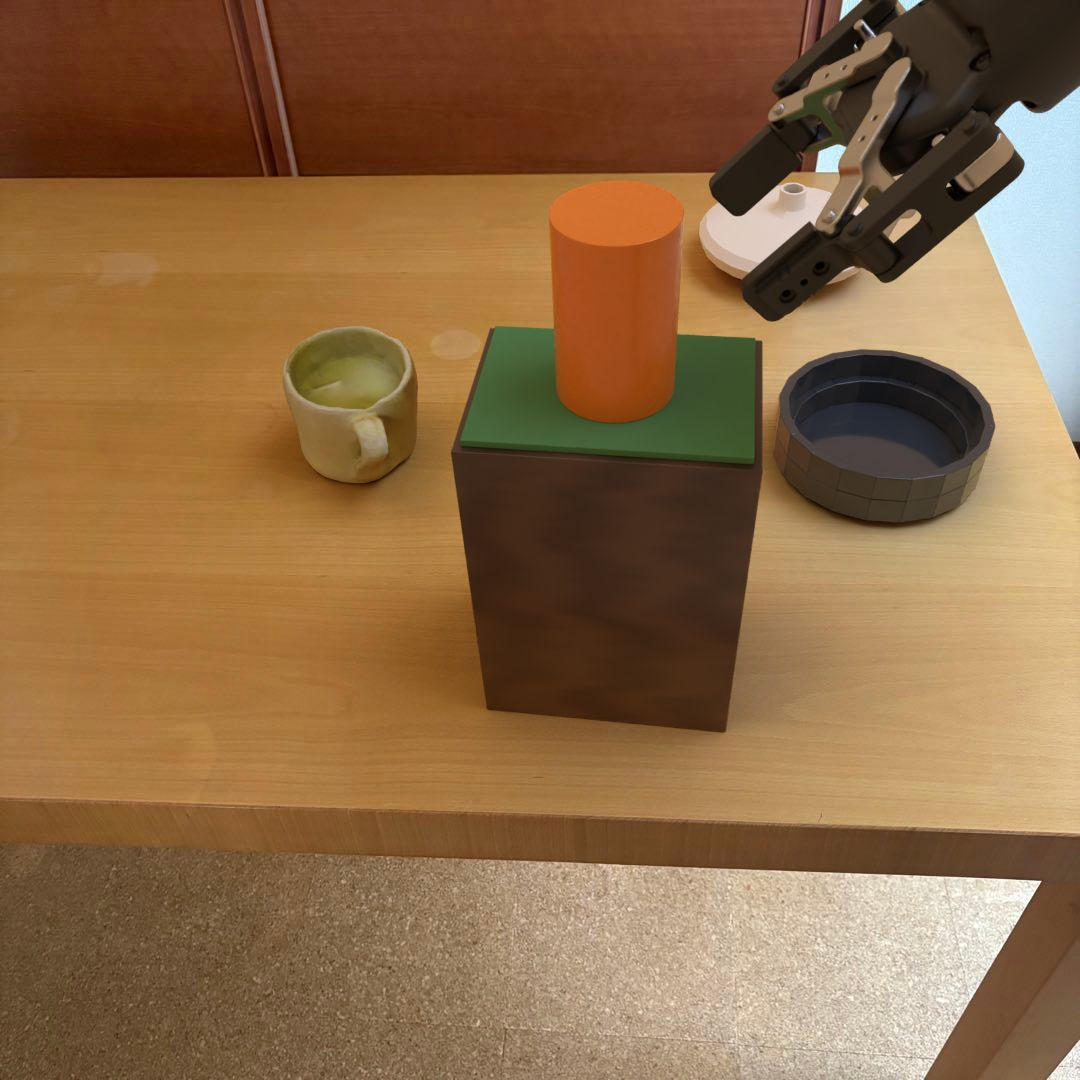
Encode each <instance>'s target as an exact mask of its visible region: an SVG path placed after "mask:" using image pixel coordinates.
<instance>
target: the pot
mask: <svg viewBox="0 0 1080 1080" xmlns="http://www.w3.org/2000/svg"><path fill="white" fill-rule="evenodd" d="M778 395H779V396H778V402H777V407H776V408H777V409H776V416H775V422H774V429H773V436H772V439H773V440H772V443H773V445H772V447H773V449H772V451H773V458H774V459H775V461H776V464H777V466H778V467H779V469H780V471H781V473H782V476H783V477H784V479H786V480H787V481H788V482H789V483H790V484H791V485H792V486H793V487H794V488H795V489H796V490H797V491H798V492H799V493H800V494H801V495H803V496H804V498H805V497H806V498H808V499H809V500H811V501H813V502H815V503H816V504H819V505H820V506H822V507H824V508H826V509H828V510H830V511H831V512H834V513H839V514H842V515H845V516H849V517H852V518H856V519H860V520H864V521H872V522H890V523H905V522H912V521H913V522H914V521H919V520H925V519H931V518H935V517H937V516H939V515H942V514H944V513H946V512H948V511H951V510H952V509H955V508H957V507H958V506H960V505H961V504H962V503H963V502H964V501H965V500H966V499H967V498H968V497H969V496H970V495H971V494H972V493H973V492H974V491H975V490H976V488H977V485H978V483H979V480H980V477H981V473H982V470H983V468H984V464H985V461H986V458H987V457H988V453H989V450H990V447H991V443H992V440H993V437H994V433H995V430H996V423H995V422H996V421H995V418H994V414H993V410H992V406H991V404H990V403H989V401H988V400H987V399H986V398H985V396H984V395H983V394H982V392H981V391H980V390H979V389H978V387H977V386H976V385H975V384H973V383H972V382H971V381H969V380H968V379H966V378H965V377H964V376H962V375H960V374H959V373H958V372H956V371H955V370H953V369H951V368H949V367H948V366H945V365H942V364H940V363H938V362H935V361H933V360H931V359H928V358H926V357H923V356H920V355H915V354H911V353H906V352H902V351H901V352H900V351H897V350H891V349H890V350H889V349H870V348H869V349H868V348H859V349H858V348H857V349H851V350H845V351H838V352H837V351H836V352H831V353H829V354H826V355H823V356H821V357H818V358H815V359H812V360H809V361H807V362H806V363H805V364H803V365H802V366H801V367H799V368H798V369H797V370H796V371H794V372H793V373H792V374H790V375H789V376H788V377H787V380H786V381H785V383H784V385H783V387H782V389H781V391H780V393H779V394H778Z"/></svg>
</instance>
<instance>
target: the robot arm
mask: <svg viewBox="0 0 1080 1080" xmlns="http://www.w3.org/2000/svg"><path fill="white" fill-rule="evenodd" d="M823 66H824V67H823ZM809 79H810V80H809ZM807 80H809V83H808V85H807V83H806V81H807ZM1078 88H1080V0H921V1H919V2H918V3H916V4H915V5H914V6H912V7H911V8H909V9H908V10H907V9H906V8H905V7H904V6H903V4H902V3H901V2H900V1H899V0H861V1H860V2H859V3H857V4H856V5H855V6H854V7H853V8H852V9H851V10H850V11H848V13H846V14H845V15H844V16H843V17H842V18H841V19H840V20H839V21H838V22H836V23H835V24H834V25H833V26H832V27H831V28H830V29H829V30H828V31H827V32H826V33H825V34H824V35H823V36H821V37H820V38H819V39H818V40H817V41H816V42H815V43H814V44H813V45H812V46H811V47H810V48H808V49H807V50H806V51H805V52H804V53H803V54H802V55H800V57H799V58H798V59H796V60H795V61H794V62H793V63H792V64H791V65H790V66H789V67H788V68H787V69H785V71H783V72H782V73H781V74H780V75H779V76H778V77H777V79H776V80H775V81H774V82H773V85H772V86H771V92H772V93H773V94H774V95H775V96H776V98H777V102H776V103H775V104H774V105H773V106H772V108H771V109H770V111H769V112H768V115H767V120H768V121H769V123H766V125H765V126H764V127H763V128H762V129H761V130H760V131H758V132H757V133H756V134H755V135H754V136H753V137H752V138H751V139H750V140H749V141H748V142H747V143H745V145H743V146H742V147H741V148H740V149H739V150H738V151H737V152H736V153H735V154H734V155H733V156H732V157H731V158H730V159H729V160H728V161H726V162H725V164H724V165H723V166H721V167H720V168H719V169H718V170H717V171H716V172H714V174H713V175H711V177H710V179H709V180H708V188H709V191H710V195H711V196H712V198H713V199H714V200H715V201H716V202H717V203H718V202H719V203H720V204H721V205H722V206H723V207H724V208H725V209H726V210H727V211H728V212H729V213H730V214H732V215H733V216H742V215H744V214H746V213H747V212H748V211H749V210H750V209H751V208H753V207H754V206H755V205H756V204H757V203H758V202H759V201H760V200H761V199H763V198H764V197H765V196H766V195H767V194H768V193H769V192H770V191H771V190H773V189H774V188H775V187H776V186H777V185H780V184H781V183H782V182H783V181H784V180H785V179H786V178H787V177H788V176H790V174H792V173H793V172H794V171H795V170H796V169H797V168H798V167H800V166H801V165H802V164H803V161H802V159H801V157H800V155H799V153H800V154H801V156H803V157H808V156H811V155H813V154H816V153H819V152H821V151H823V150H826V149H829V148H832V147H834V146H837V145H838V146H842V147H845V149H844V151H843V153H842V155H841V156H840V158H839V160H838V164H837V171H838V174H839V180H838V183H837V184H836V186H835V187H834V189H833V191H832V192H831V193H832V195H831V196H830V198H829V200H828V201H827V203H826V205H825V206H824V208H823V209H822V211H821V213H820V214H819V216H818V218H817V220H816V223H815V226H814V225H813V224H812V223H811V222H810V221H809V222H808V223H807V224H805V225H804V226H803V227H802V228H801V229H800V230H798V231H797V232H796V233H795V234H794V235H793V236H791V237H790V238H789V239H788V240H787V241H786V242H784V243H783V244H782V245H781V246H780V247H779V248H777V249H776V250H775V251H774V252H773V253H772V254H770V255H769V256H768V257H767V258H766V259H765V260H763V261H762V262H761V263H760V264H759V265H758V266H756V267H755V268H754V269H753V270H752V271H751V272H749V273H748V274H747V275H746V276H745V277H744V278H743V279H740V281H739V290H740V293H741V297H742V300H743V301H744V302H745V303H746V304H747V305H748V306H749V307H750V308H751V309H753V310H754V311H755V312H756V313H757V314H758V315H759V316H760V317H762V318H763V319H764V320H765V321H767V322H771V323H774V322H778V321H780V320H782V319H783V318H784V317H786V316H788V315H789V314H791V313H793V312H795V310H797V309H798V308H799V307H800V306H802V305H803V303H806V301H807V300H809V299H810V298H811V297H812V296H814V295H815V294H816V293H818V292H819V291H820V290H821V289H822V288H824V287H825V286H826V284H827V283H829V282H830V281H831V280H832V279H833V278H835V277H836V276H837V275H838V274H840V273H841V272H842V271H844V270H845V269H847V268H849V267H853V266H854V267H855V268H858V269H859V268H862V269H863V270H865V271H867V272H869V273H871V274H873V276H875V278H876V279H877V280H878V281H879V282H880V283H882V284H888V283H889V284H890V283H892V282H894V281H896V280H897V279H898V278H899V277H901V276H902V275H904V273H906V272H907V271H908V270H909V269H910V268H911V267H913V266H914V265H915V264H917V263H918V262H919V261H920V260H922V258H923V257H925V256H926V255H927V254H928V253H929V252H931V251H932V250H933V249H934V248H936V247H937V246H938V245H939V244H940V243H941V242H943V241H944V240H945V239H946V238H947V237H949V236H950V235H951V234H953V233H954V231H956V230H957V229H958V228H959V227H961V226H962V225H963V224H964V223H965V222H966V221H968V220H969V219H970V218H971V217H972V216H974V215H975V214H976V213H977V212H978V211H980V210H981V209H982V208H984V206H986V205H987V204H988V203H989V202H990V201H992V200H993V199H994V198H995V197H996V196H998V195H999V194H1000V193H1001V192H1002V191H1003V190H1006V188H1007V187H1009V185H1011V184H1012V183H1013V182H1014V181H1016V180H1017V179H1018V178H1019V176H1020V175H1021V174H1022V173H1023V172H1024V169H1025V165H1026V163H1025V159H1024V158H1023V157H1022V156H1021V155H1020V153H1019V152H1018V151H1017V150H1016V148H1015V146H1014V144H1013V142H1011V140H1010V139H1009V138H1008V137H1007V135H1006V134H1005V133H1004V131H1003V130H1002V129H1001V128H1000V127H999V126H997V124H996V123H997V121H999V119H1000V118H1001V117H1002V116H1003V115H1004V114H1005V113H1006V112H1007V111H1008V110H1009V109H1010V107H1012V105H1014V104H1016V103H1018V102H1019V103H1020V104H1021V105H1022V106H1023V107H1024V108H1025V109H1026V110H1027V111H1029V112H1030V113H1034V114H1044V113H1047V112H1049V111H1051V110H1053V108H1054V107H1056V106H1057V105H1058V104H1060V103H1061V102H1062V101H1063V100H1065V99H1066V98H1067V97H1069V95H1071V94H1072V93H1074V91H1076V90H1077V89H1078ZM820 122H821V123H820ZM898 176H899V177H898ZM895 177H898V178H895ZM948 184H949V185H950V186H948ZM862 200H864V201H865V202H866V203H867V204H868V205H867V206H866V207H863V208H862V209H863V210H862V211H861V212H860V213H859V214H858V215H857V216H856V215H854V214H853V213H854V212H855V210H856V208H857V207H858V206H859V205H860V203H861V202H862ZM916 213H918V214H919V215H920V219H919V221H917V223H915V224H914V225H913V226H912V227H910V229H908V230H907V231H906V232H905V233H903V234H902V235H901V236H900V237H899V238H898V239H897V240H895V241H894V242H893V241H892V239H890V236H891V234H892V233H893V231H894V229H895V228H896V226H897V225H898V223H899V221H900V220H903V219H904V220H905V219H911V218H912V217H914V216H915V214H916ZM827 285H828V284H827Z"/></svg>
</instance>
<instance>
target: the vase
mask: <svg viewBox="0 0 1080 1080" xmlns="http://www.w3.org/2000/svg"><path fill="white" fill-rule="evenodd" d="M832 193H833V192H831V191H827V190H824V189H821V188H817V187H811V186H806V185H804V184H802V183H799V182H786V183H784V184H778V185H777V186H776V187H775V188H774V189H773V190H771V191H770V192H769V193H768V194H767V195H766V196H765V197H764V198H763V199H761V200H760V201H759V202H758V203H757V204H756V205H755V206H754V207H753V208H751V209H750V210H749V211H748V212H747V213H746V214H744V215H742V216H733V215H732V214H730V213H729V212H728V211H727V210H726V209H725V208H724V207H723V206H722V205H721V204H720V203H719V202H718V201H717V203H715V204H714V205H713V206H712V207H710V209H708V210H707V212H706V213H705V214H704V215H703V217H702V219H701V220H700V223H699V229H698V236H699V237H698V238H699V241H700V244H701V247H702V248H703V251H704V253H705V255H706V258H708V260H709V261H711V263H713V264H714V265H715V267H717V268H718V269H719V270H721V271H723V272H725V273H727V274H728V275H730V276H732V277H734V278H735V279H736V278H737V279H740V280H742V279H743V278H744V277H745V276H746V275H747V274H748V273H749V272H751V271H752V270H753V269H754V268H755V267H756V266H758V265H759V264H760V263H761V262H762V261H763V260H765V259H766V258H767V257H768V256H769V255H770V254H772V253H773V252H774V251H775V250H776V249H777V248H779V247H780V246H781V245H782V244H783V243H784V242H786V241H787V240H788V239H789V238H790V237H791V236H793V235H794V234H795V233H796V232H797V231H798V230H800V229H801V228H802V227H803V226H804V225H805V224H807V223H808V222H809V221H810V222H811V223H812V224H813V225H814V226H815V223H816V220H817V218H818V216H819V214H820V213H821V211H822V209H823V208H824V206H825V205H826V203H827V201H828V200H829V198H830V196H831V195H832ZM863 209H864V208H862V207H861V206H859V205H858V207H857V208H856V210H855V212H854V213H853V214H854V215H856V216H857V215H858V214H859V213H860V212H861V211H862V210H863ZM862 269H863V268H859V269H858V268H855V267H854V266H853V267H849V268H847V269H845V270H844V271H842V272H841V273H840V274H838V275H837V276H836V277H835V278H833V279H832V280H831V281H830V282H829V283H827V284H826V285H827V286H828V285H831V284H834V283H837V282H838V283H839V282H841V281H844V280H846V279H848V278H850V277H852V276H854V275H855V274H857V273H859V272H860V271H861V270H862ZM826 285H825V286H826Z"/></svg>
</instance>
